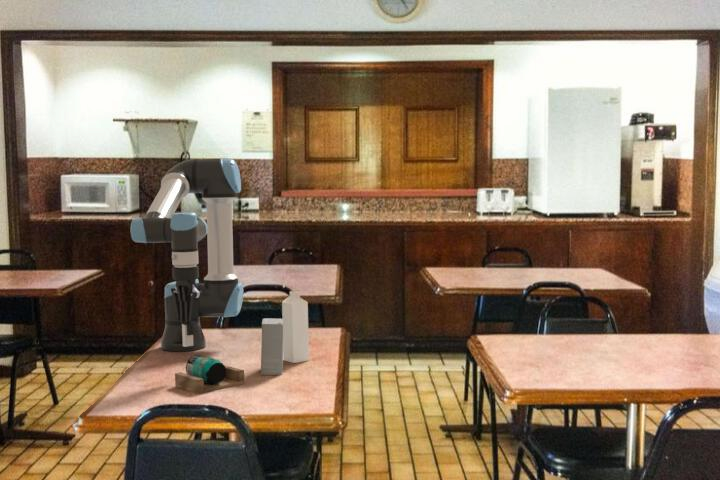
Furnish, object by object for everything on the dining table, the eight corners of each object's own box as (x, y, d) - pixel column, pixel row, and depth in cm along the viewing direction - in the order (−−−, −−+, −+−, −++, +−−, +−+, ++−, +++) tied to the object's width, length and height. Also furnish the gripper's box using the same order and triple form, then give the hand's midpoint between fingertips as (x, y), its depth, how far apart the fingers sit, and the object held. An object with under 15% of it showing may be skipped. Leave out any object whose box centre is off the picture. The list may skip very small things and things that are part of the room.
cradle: (175, 386, 246) (175, 373, 246) (221, 376, 257) (220, 364, 257) (198, 393, 238) (197, 380, 238) (244, 383, 249) (244, 370, 249)
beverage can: (209, 368, 256) (232, 374, 247) (191, 383, 252) (214, 390, 243) (198, 349, 253) (221, 355, 244) (180, 364, 249) (202, 371, 240)
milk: (293, 363, 274) (291, 294, 272) (283, 360, 278) (281, 292, 276) (309, 360, 277) (307, 292, 275) (299, 357, 282) (297, 290, 280)
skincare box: (261, 369, 266) (259, 318, 265) (284, 368, 267) (283, 317, 265) (260, 375, 258) (259, 322, 256) (284, 375, 258) (283, 322, 257)
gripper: (162, 265, 255) (164, 344, 257) (186, 268, 246) (189, 351, 248) (183, 262, 260) (186, 340, 262) (209, 266, 251) (211, 346, 253)
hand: (188, 345), depth 255 cm, fingers closed
